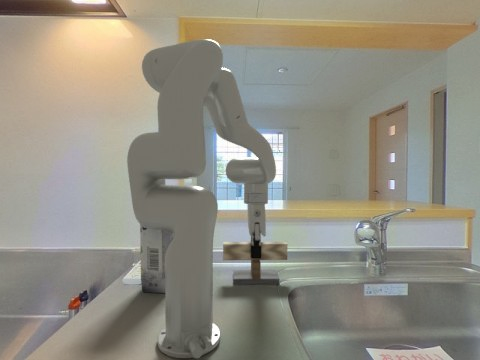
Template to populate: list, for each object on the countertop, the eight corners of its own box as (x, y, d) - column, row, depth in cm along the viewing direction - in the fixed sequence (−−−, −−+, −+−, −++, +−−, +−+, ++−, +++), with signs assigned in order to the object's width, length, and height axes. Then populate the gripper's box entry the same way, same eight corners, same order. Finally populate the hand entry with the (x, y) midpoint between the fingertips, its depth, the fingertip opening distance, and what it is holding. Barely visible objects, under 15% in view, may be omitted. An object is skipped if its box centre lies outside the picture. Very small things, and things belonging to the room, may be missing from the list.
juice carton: (179, 280, 92) (179, 194, 91) (168, 295, 82) (167, 197, 81) (152, 279, 93) (151, 194, 92) (137, 293, 83) (136, 197, 82)
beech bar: (285, 257, 95) (285, 241, 95) (287, 259, 92) (287, 244, 92) (223, 257, 95) (223, 241, 95) (223, 260, 92) (223, 244, 92)
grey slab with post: (279, 283, 90) (279, 262, 90) (233, 284, 90) (233, 262, 89) (275, 274, 98) (275, 254, 98) (233, 274, 98) (233, 255, 97)
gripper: (271, 201, 85) (270, 264, 85) (265, 196, 101) (264, 249, 102) (245, 201, 85) (244, 265, 85) (243, 196, 101) (242, 249, 102)
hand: (255, 255), depth 94 cm, fingers closed on beech bar, 3 cm apart
